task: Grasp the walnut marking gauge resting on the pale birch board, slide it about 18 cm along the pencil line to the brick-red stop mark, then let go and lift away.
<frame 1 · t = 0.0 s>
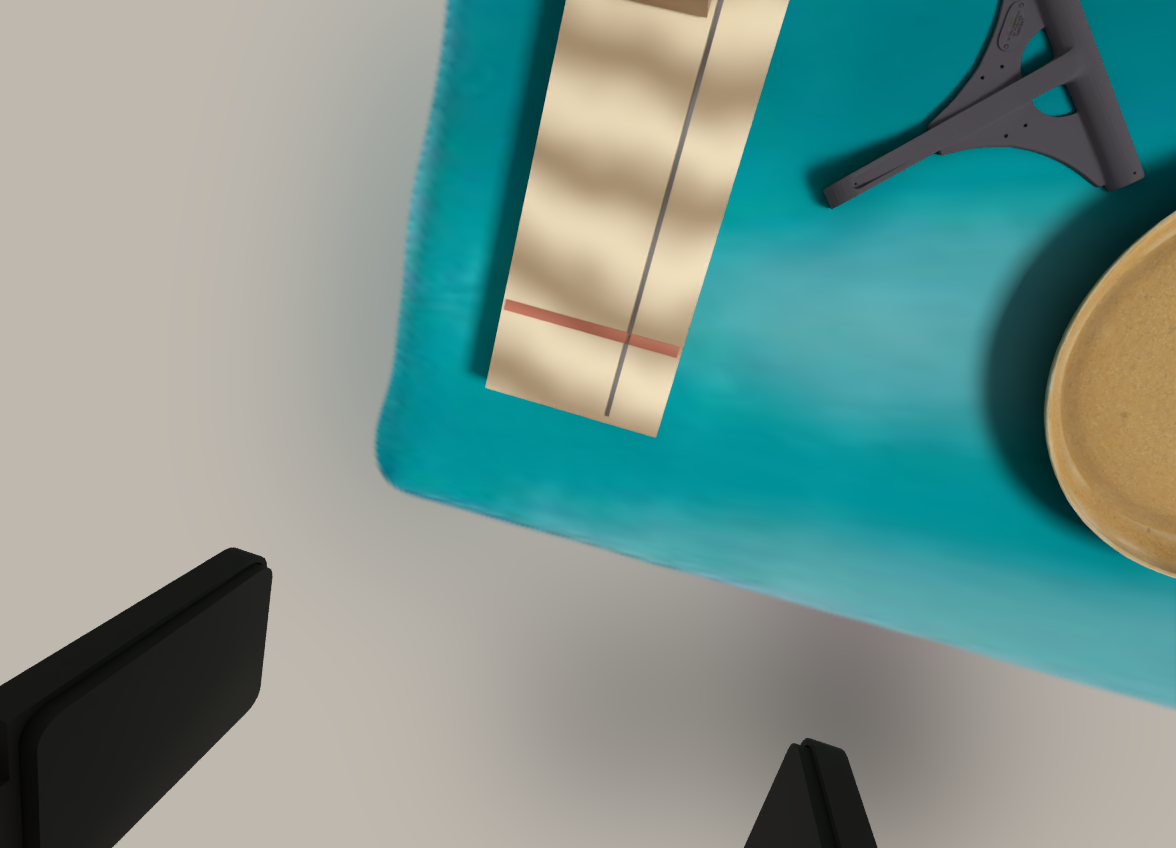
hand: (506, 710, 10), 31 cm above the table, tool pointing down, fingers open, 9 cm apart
board: (632, 183, 37), on the table
bracket: (945, 131, 34), on the table
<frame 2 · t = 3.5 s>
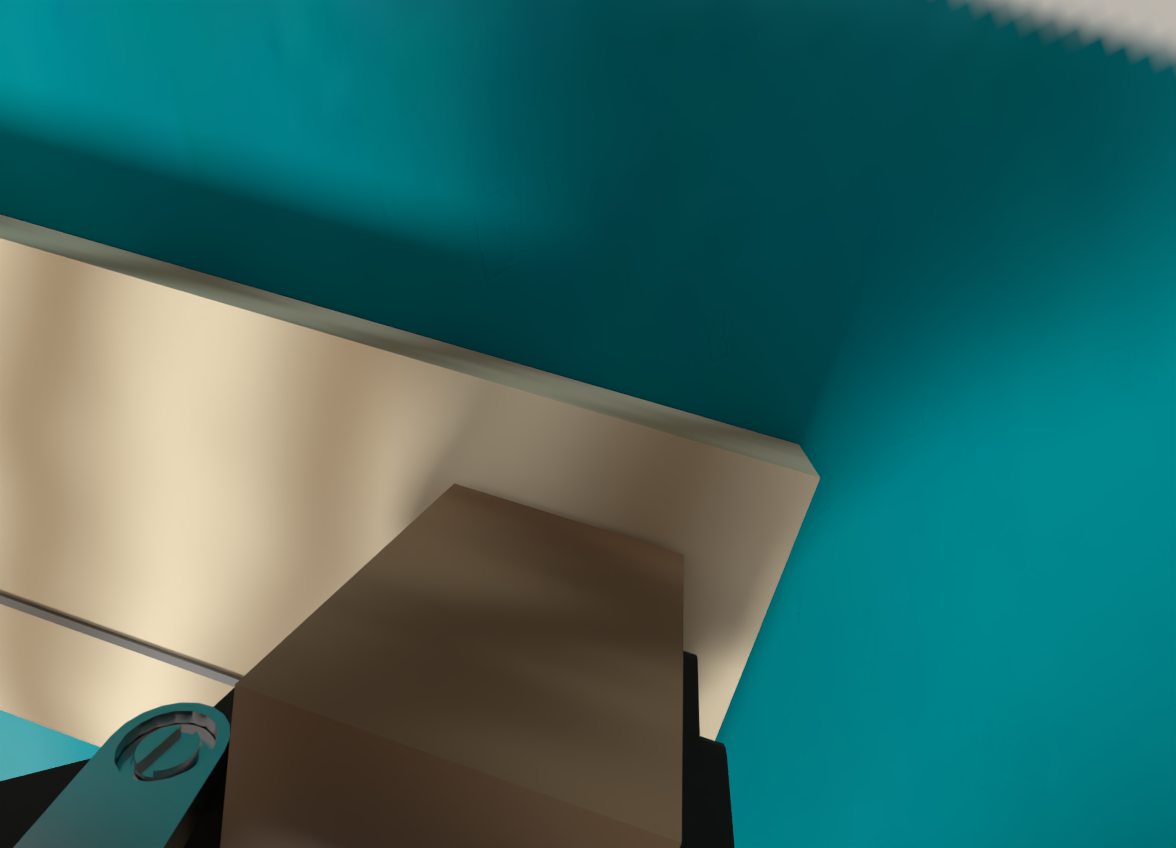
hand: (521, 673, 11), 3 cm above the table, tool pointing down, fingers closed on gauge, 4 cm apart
board: (139, 492, 15), on the table
gauge: (464, 845, 9), point 5 cm above the table, slide at 0.0 cm, touching gripper
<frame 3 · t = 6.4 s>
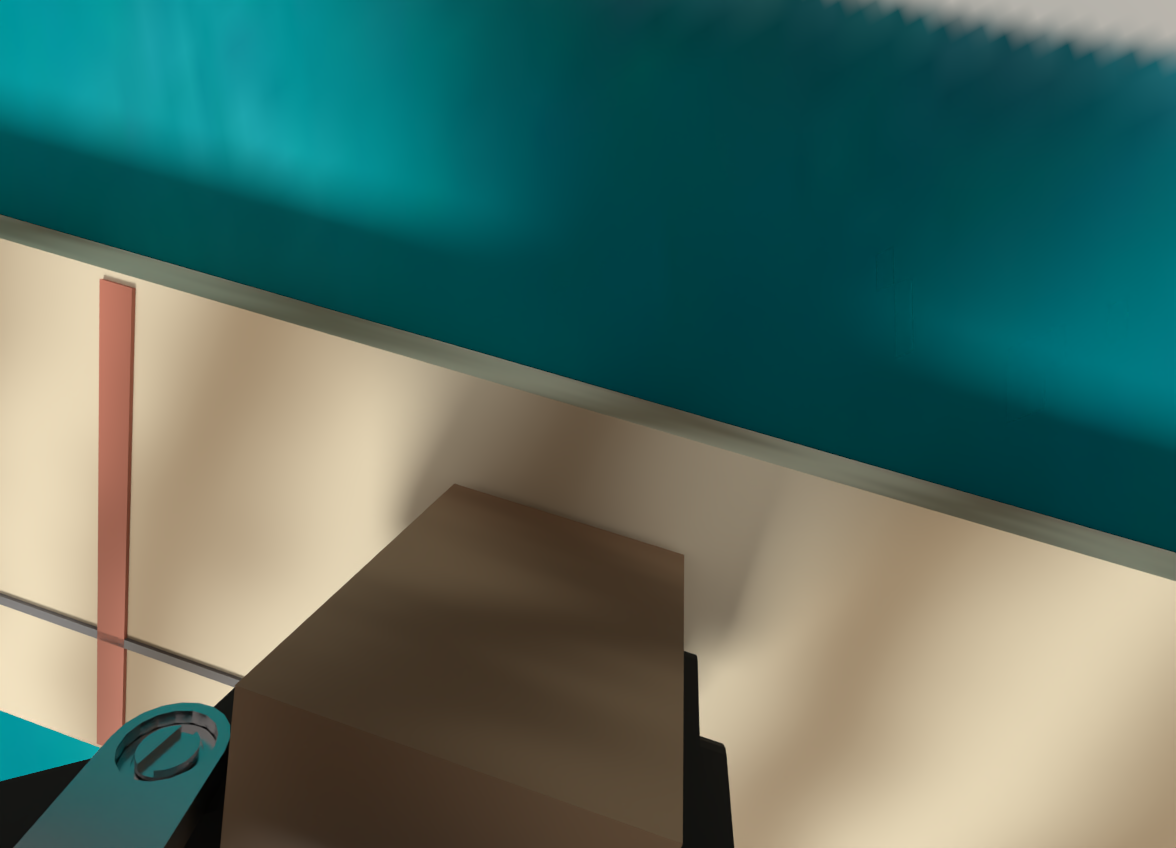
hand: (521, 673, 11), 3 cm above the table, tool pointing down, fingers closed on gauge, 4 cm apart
board: (532, 621, 14), on the table
gauge: (464, 846, 9), point 5 cm above the table, slide at 10.7 cm, touching gripper
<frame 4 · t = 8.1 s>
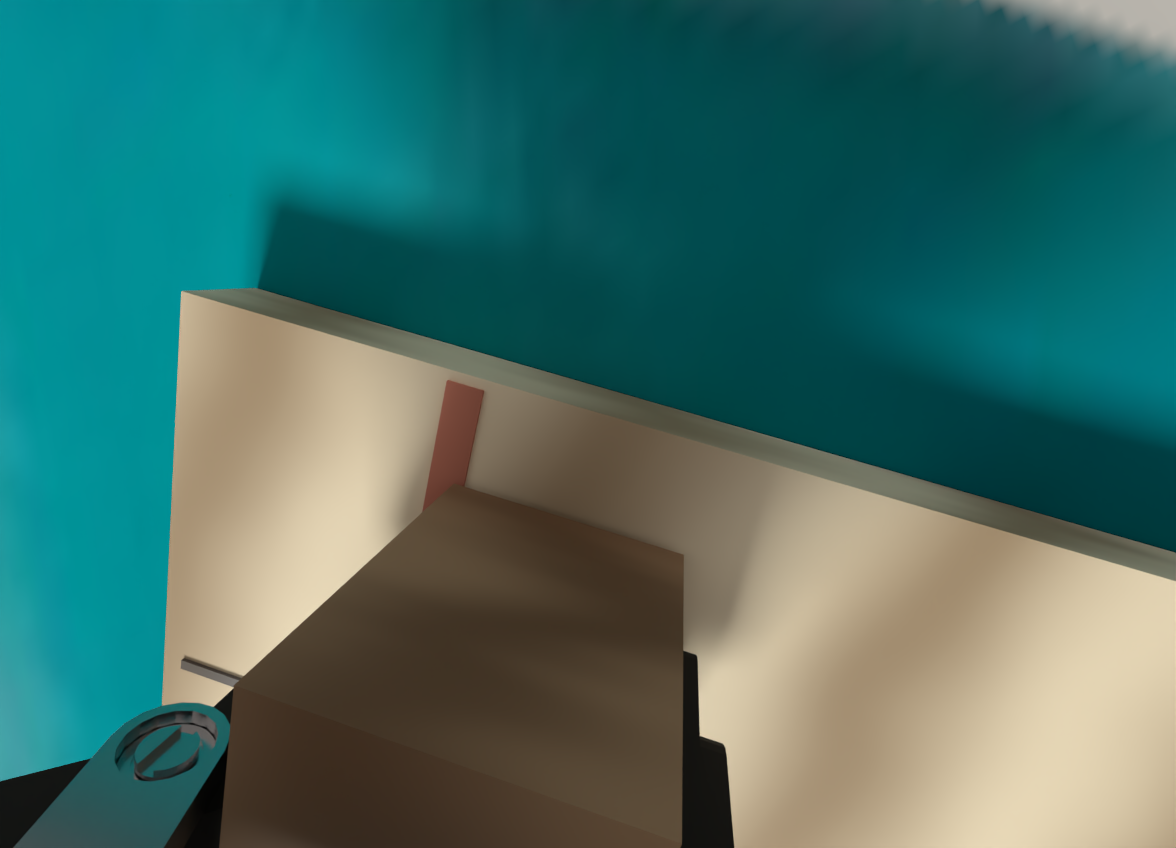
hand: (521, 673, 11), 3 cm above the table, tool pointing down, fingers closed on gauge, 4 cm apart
board: (826, 717, 13), on the table
gauge: (464, 846, 9), point 5 cm above the table, slide at 17.8 cm, touching gripper
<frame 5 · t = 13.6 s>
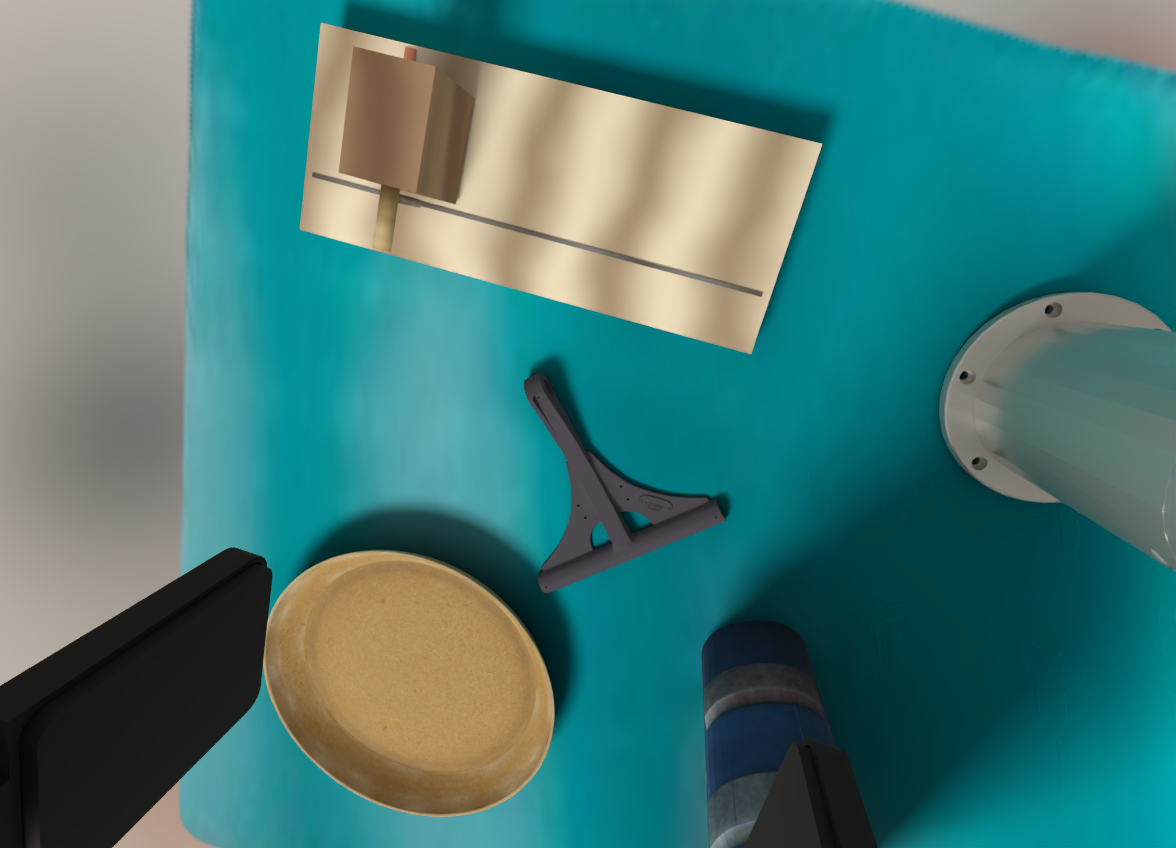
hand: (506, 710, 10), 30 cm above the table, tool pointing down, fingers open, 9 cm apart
board: (546, 194, 37), on the table
bracket: (589, 464, 42), on the table
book: (764, 750, 45), on the table
plant saucer: (421, 664, 48), on the table
gauge: (405, 165, 33), point 5 cm above the table, slide at 18.0 cm
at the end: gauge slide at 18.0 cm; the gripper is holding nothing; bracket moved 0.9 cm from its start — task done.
